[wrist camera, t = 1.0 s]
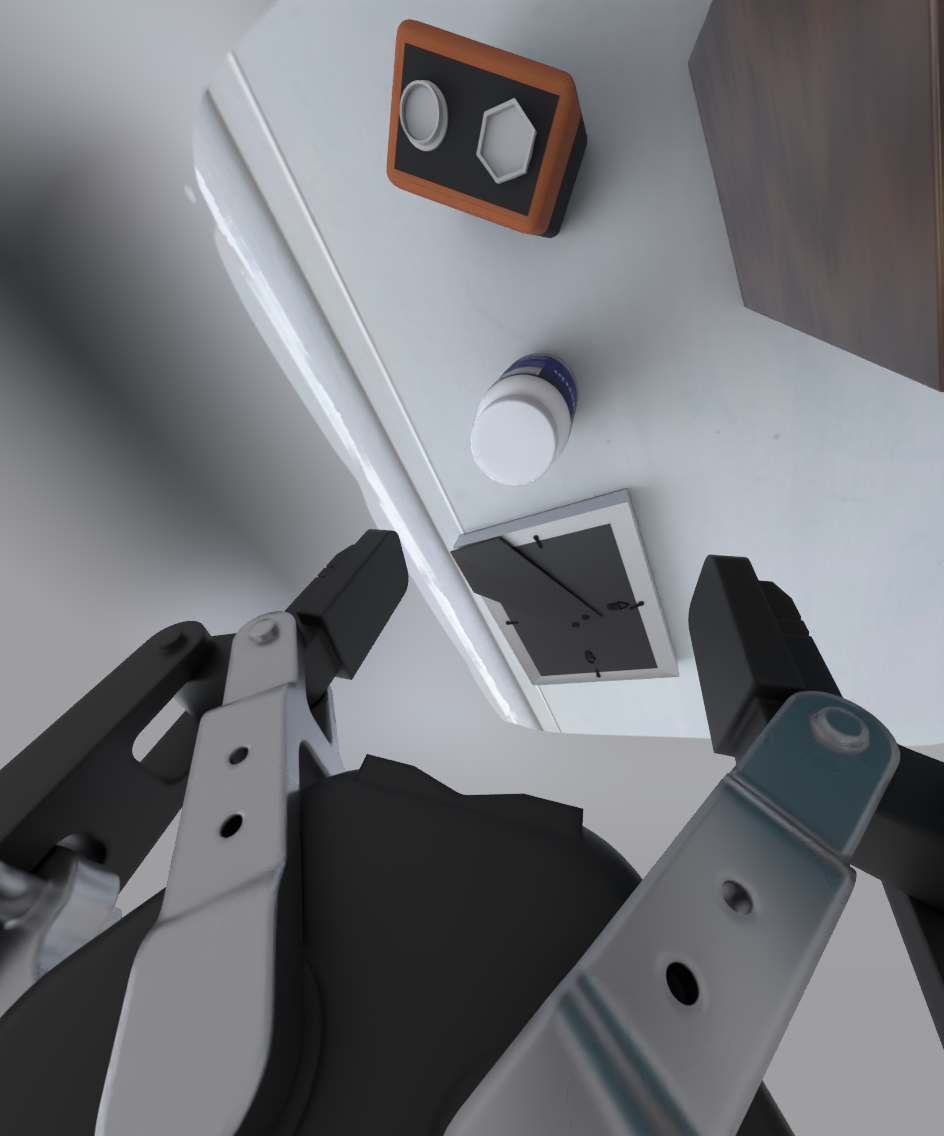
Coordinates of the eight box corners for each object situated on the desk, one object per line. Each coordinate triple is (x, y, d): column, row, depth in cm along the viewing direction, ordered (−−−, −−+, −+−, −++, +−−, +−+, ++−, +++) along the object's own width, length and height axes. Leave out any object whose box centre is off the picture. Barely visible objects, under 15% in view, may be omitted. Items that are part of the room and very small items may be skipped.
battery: (557, 241, 23) (530, 236, 15) (449, 202, 23) (371, 179, 16) (591, 133, 20) (578, 62, 12) (467, 90, 20) (382, -4, 13)
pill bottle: (584, 424, 29) (574, 486, 21) (511, 442, 31) (478, 502, 23) (570, 339, 26) (553, 375, 18) (490, 365, 28) (445, 407, 20)
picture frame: (459, 535, 38) (535, 671, 48) (450, 552, 36) (531, 690, 46) (627, 488, 31) (676, 660, 40) (628, 505, 28) (680, 683, 38)
